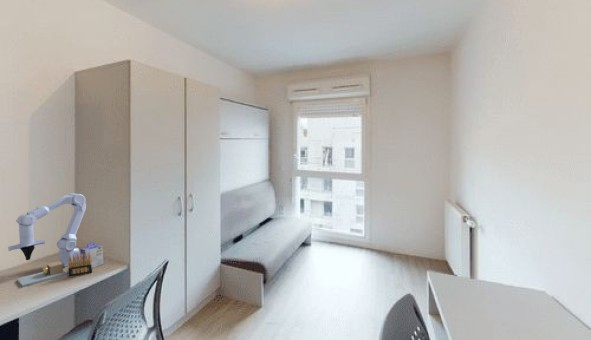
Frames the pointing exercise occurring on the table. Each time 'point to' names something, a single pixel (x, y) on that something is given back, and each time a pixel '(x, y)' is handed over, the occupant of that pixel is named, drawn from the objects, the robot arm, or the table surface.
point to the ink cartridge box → (94, 254)
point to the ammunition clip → (80, 265)
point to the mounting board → (55, 272)
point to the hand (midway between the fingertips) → (28, 259)
